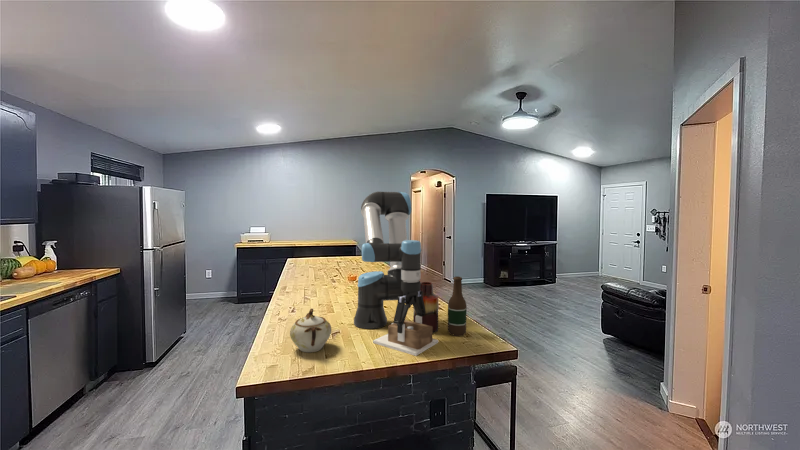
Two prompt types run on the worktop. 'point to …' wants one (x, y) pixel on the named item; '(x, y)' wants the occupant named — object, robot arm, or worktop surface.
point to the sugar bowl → (310, 332)
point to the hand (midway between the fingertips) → (410, 336)
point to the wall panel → (412, 351)
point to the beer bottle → (457, 310)
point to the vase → (429, 306)
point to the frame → (412, 334)
